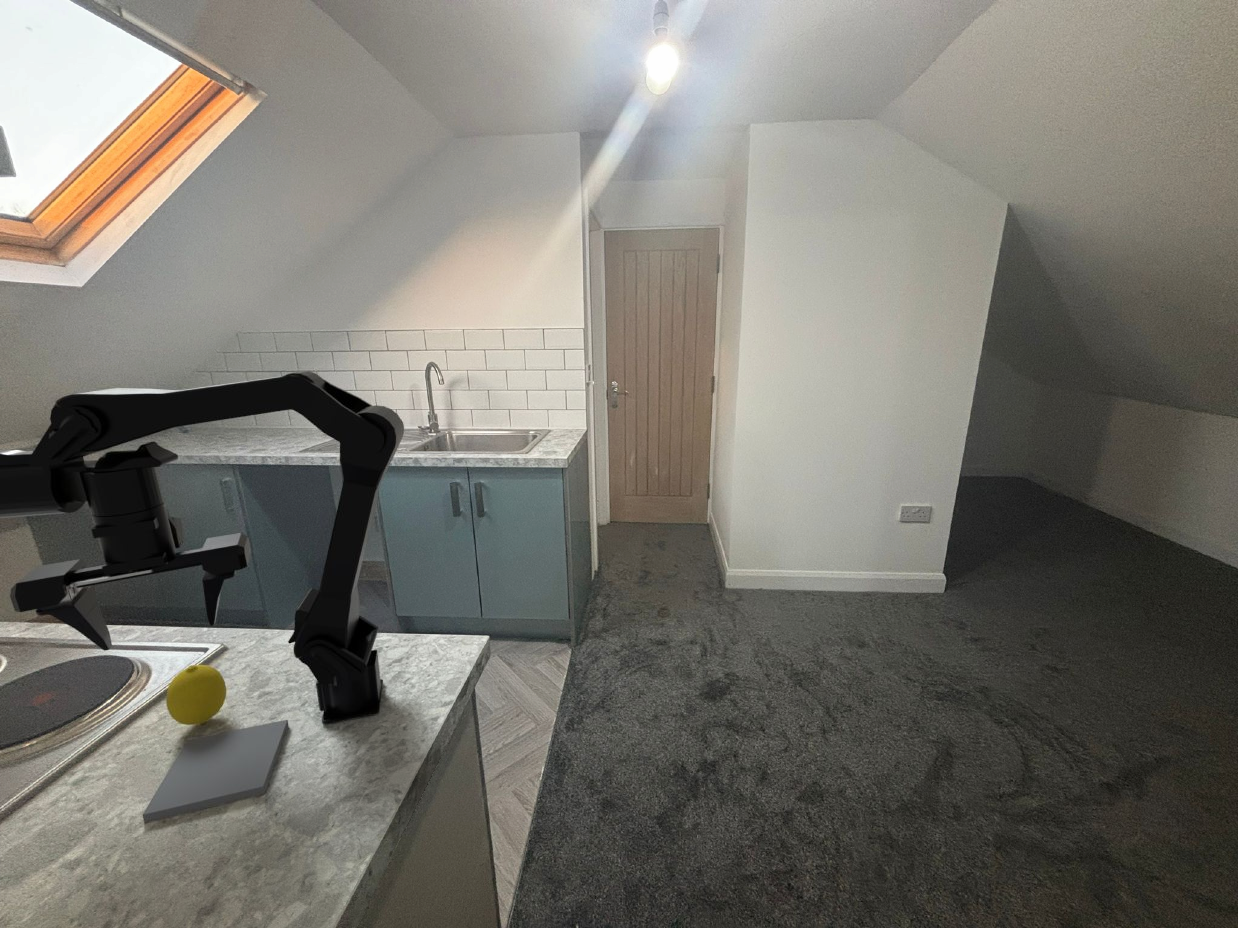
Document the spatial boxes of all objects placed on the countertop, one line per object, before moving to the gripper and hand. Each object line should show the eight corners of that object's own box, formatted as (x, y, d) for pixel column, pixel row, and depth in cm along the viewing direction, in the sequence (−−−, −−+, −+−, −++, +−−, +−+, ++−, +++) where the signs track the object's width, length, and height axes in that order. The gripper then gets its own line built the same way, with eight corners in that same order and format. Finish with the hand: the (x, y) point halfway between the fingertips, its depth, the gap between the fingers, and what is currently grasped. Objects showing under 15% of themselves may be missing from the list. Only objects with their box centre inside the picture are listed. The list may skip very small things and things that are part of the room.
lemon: (199, 743, 59) (186, 684, 57) (161, 735, 60) (147, 677, 58) (242, 710, 64) (232, 655, 62) (206, 703, 65) (195, 649, 63)
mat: (288, 726, 62) (287, 719, 62) (264, 793, 53) (262, 786, 52) (188, 746, 58) (187, 739, 58) (144, 822, 49) (142, 814, 49)
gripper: (243, 477, 65) (265, 586, 69) (38, 502, 56) (76, 626, 60) (232, 500, 56) (258, 624, 60) (-16, 534, 47) (34, 678, 51)
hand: (162, 635), depth 58 cm, fingers open, 9 cm apart
